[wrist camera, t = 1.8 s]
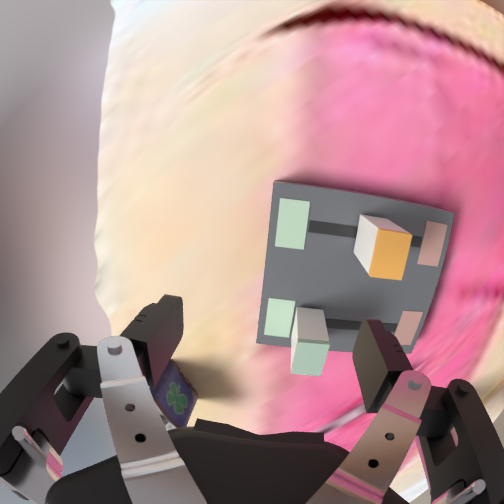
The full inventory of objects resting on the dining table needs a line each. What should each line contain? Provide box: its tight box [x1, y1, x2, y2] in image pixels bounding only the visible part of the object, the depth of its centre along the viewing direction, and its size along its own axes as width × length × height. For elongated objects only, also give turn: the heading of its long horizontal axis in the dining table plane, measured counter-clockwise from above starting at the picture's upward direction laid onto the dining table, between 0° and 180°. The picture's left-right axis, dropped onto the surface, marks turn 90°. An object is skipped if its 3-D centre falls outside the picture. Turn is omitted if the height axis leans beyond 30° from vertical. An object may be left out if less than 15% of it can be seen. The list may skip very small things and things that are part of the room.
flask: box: [149, 360, 198, 430], centre depth 36 cm, size 9×3×11 cm, turn 23°
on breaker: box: [291, 307, 330, 376], centre depth 28 cm, size 3×4×7 cm
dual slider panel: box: [256, 181, 455, 353], centre depth 31 cm, size 21×19×3 cm
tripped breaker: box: [354, 214, 412, 280], centre depth 24 cm, size 3×4×7 cm
